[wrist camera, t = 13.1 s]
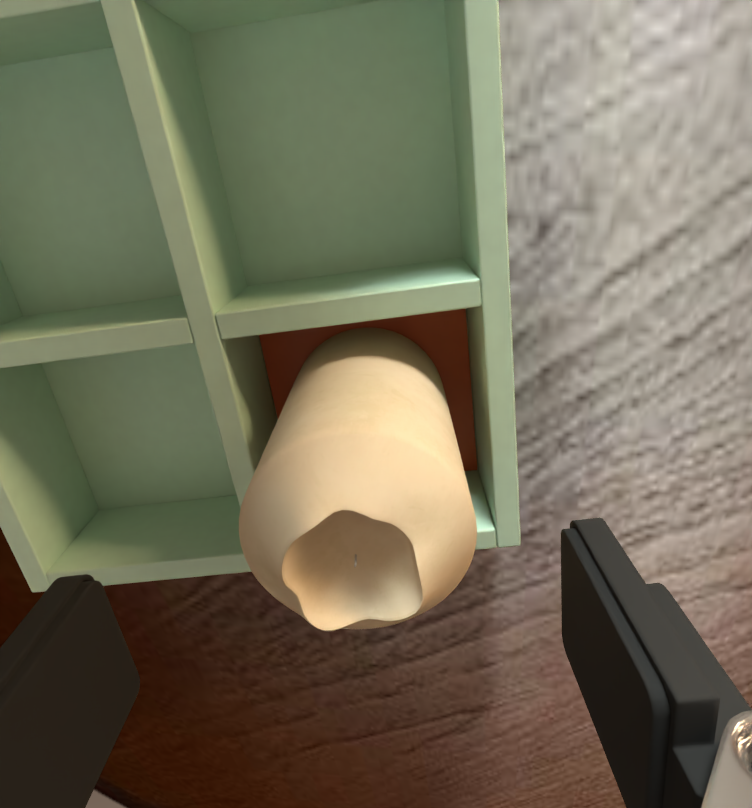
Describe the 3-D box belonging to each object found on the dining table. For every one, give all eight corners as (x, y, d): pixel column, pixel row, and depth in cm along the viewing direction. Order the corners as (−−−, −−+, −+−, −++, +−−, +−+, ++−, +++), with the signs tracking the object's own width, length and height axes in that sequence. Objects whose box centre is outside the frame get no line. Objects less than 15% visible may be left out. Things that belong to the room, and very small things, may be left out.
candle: (473, 376, 20) (543, 550, 11) (391, 484, 22) (392, 711, 13) (344, 295, 19) (302, 414, 10) (269, 416, 21) (176, 611, 12)
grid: (94, 518, 24) (31, 593, 20) (-92, 56, 17) (-247, 20, 13) (496, 475, 23) (521, 546, 18) (466, -41, 16) (494, -117, 12)
